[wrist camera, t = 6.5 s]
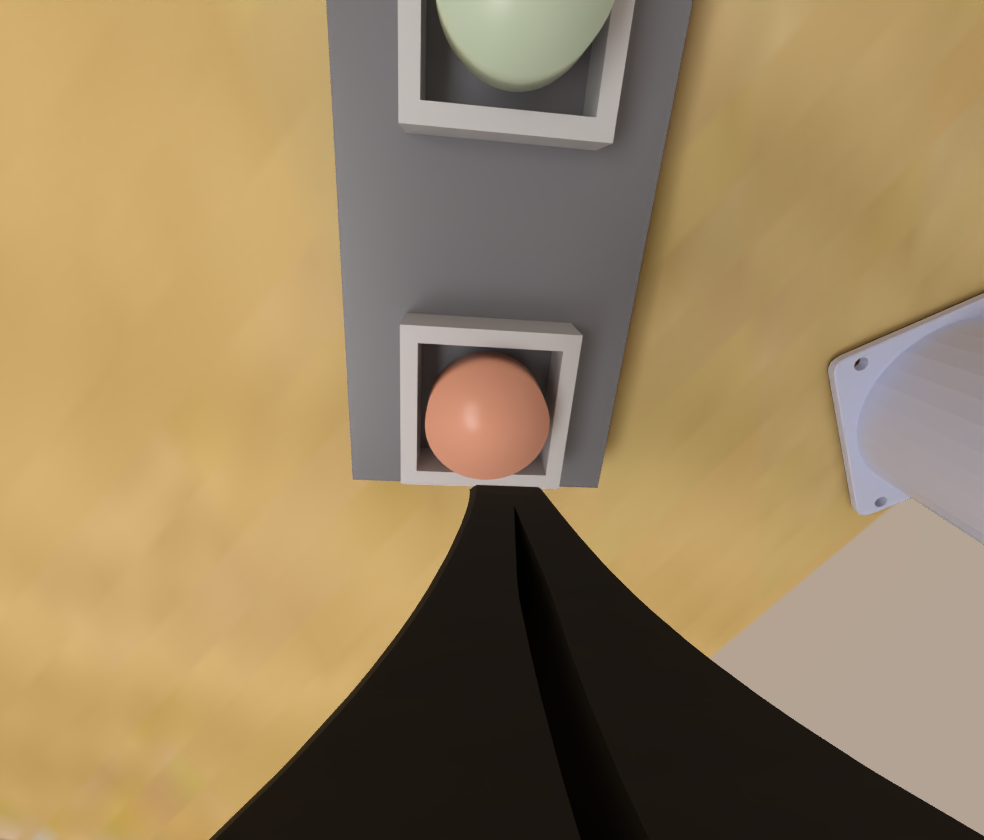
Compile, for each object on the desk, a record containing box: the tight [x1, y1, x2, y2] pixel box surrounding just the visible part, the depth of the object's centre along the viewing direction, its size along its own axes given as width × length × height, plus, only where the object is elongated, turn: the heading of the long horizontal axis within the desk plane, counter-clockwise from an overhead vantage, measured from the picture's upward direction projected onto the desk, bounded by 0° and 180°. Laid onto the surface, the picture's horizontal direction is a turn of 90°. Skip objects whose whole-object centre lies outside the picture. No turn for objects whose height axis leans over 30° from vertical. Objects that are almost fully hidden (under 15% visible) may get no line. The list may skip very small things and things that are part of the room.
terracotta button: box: [425, 351, 550, 480], centre depth 14 cm, size 4×4×2 cm
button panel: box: [326, 0, 693, 489], centre depth 12 cm, size 27×9×4 cm, turn 176°
